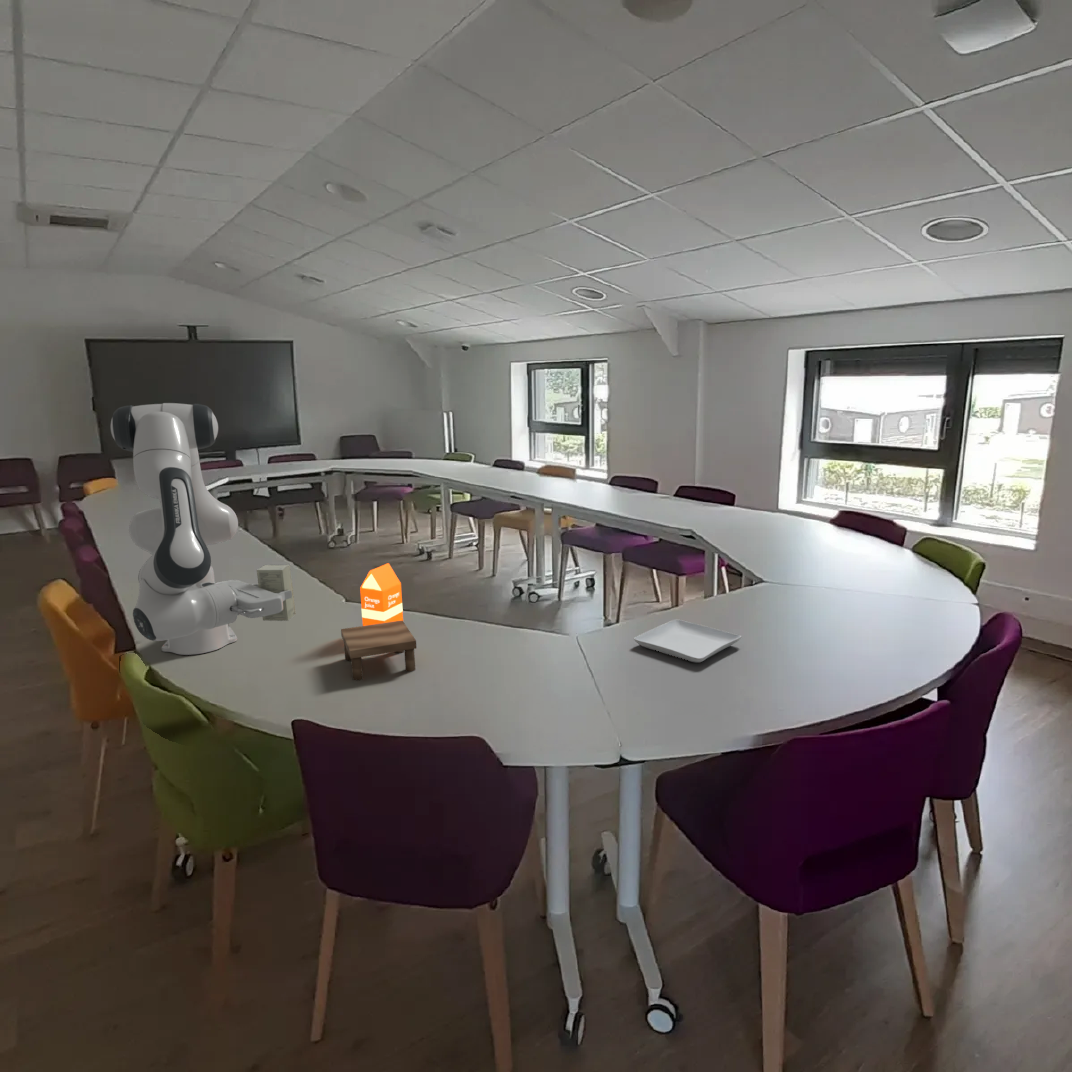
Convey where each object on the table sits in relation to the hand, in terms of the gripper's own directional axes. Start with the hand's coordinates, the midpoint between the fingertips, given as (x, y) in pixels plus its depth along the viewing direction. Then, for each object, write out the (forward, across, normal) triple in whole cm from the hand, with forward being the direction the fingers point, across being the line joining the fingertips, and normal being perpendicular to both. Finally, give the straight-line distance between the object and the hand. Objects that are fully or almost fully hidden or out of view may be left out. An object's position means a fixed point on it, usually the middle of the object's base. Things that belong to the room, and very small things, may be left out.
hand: (279, 589), depth 160 cm
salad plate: (+82, -59, +25) cm, 105 cm away
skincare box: (-1, 0, +7) cm, 7 cm away
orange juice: (+37, +12, +25) cm, 46 cm away
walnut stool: (+23, -4, +25) cm, 34 cm away
